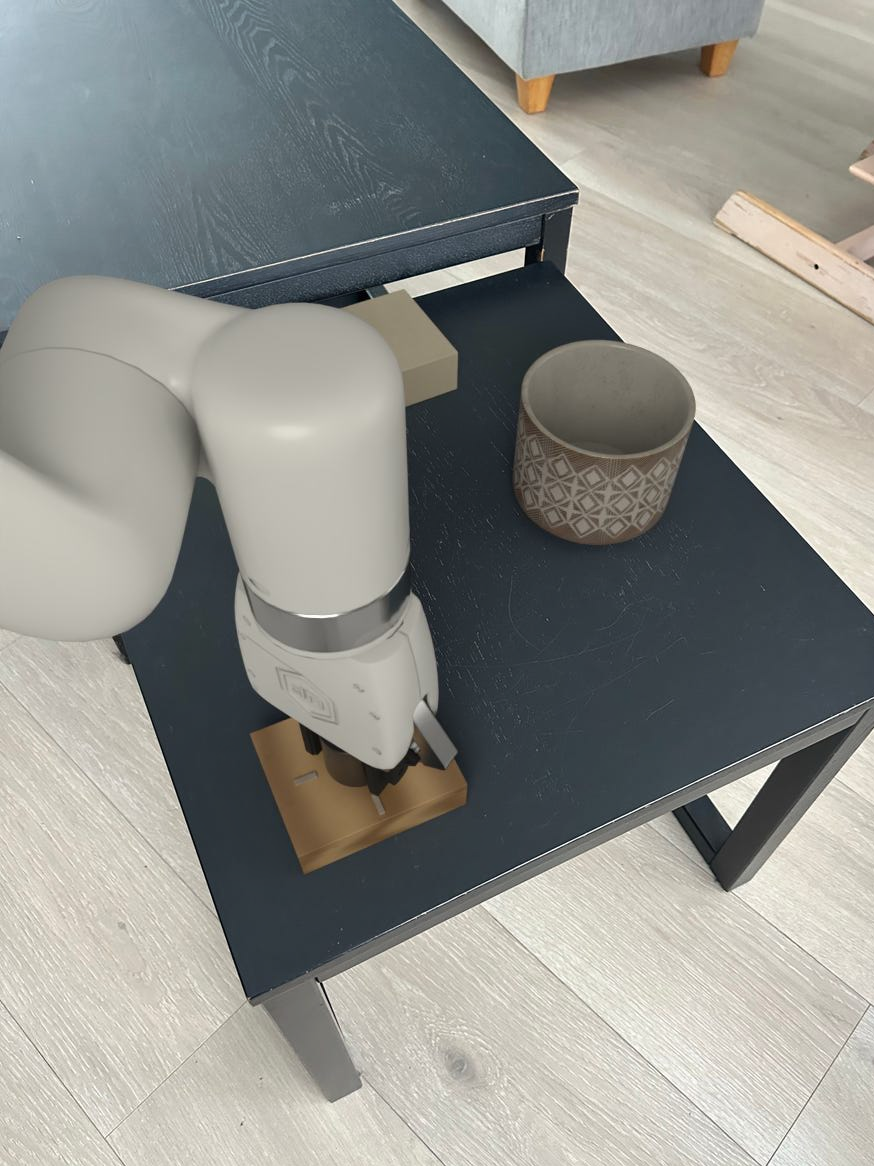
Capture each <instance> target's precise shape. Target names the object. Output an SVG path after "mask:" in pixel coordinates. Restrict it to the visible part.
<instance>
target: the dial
mask: <svg viewBox="0 0 874 1166" xmlns="http://www.w3.org/2000/svg"><path fill="white" fill-rule="evenodd" d="M319 739H320V743H321V748H322V752H323V757H324V761H325V766H326V769H327V771H328V773H329V774H330V776H331V777H332V778H333V779H334V780H335V781H337V782H338V783H340V784H342V785H345V786H349V787H362V786H366V785H368V783H367V776H366V769H365V763H364V762H363V761H361V760H359V759H357V758H356V757H354V756H352V755H351V754H349V753H347V752H346V751H344V750H343V749H341V748H339V747H338V746H336V745H334V744H333V743H331V742H330V741H328V740H326V739H325V738H323V737H322V736H320V735H319Z"/></svg>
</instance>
